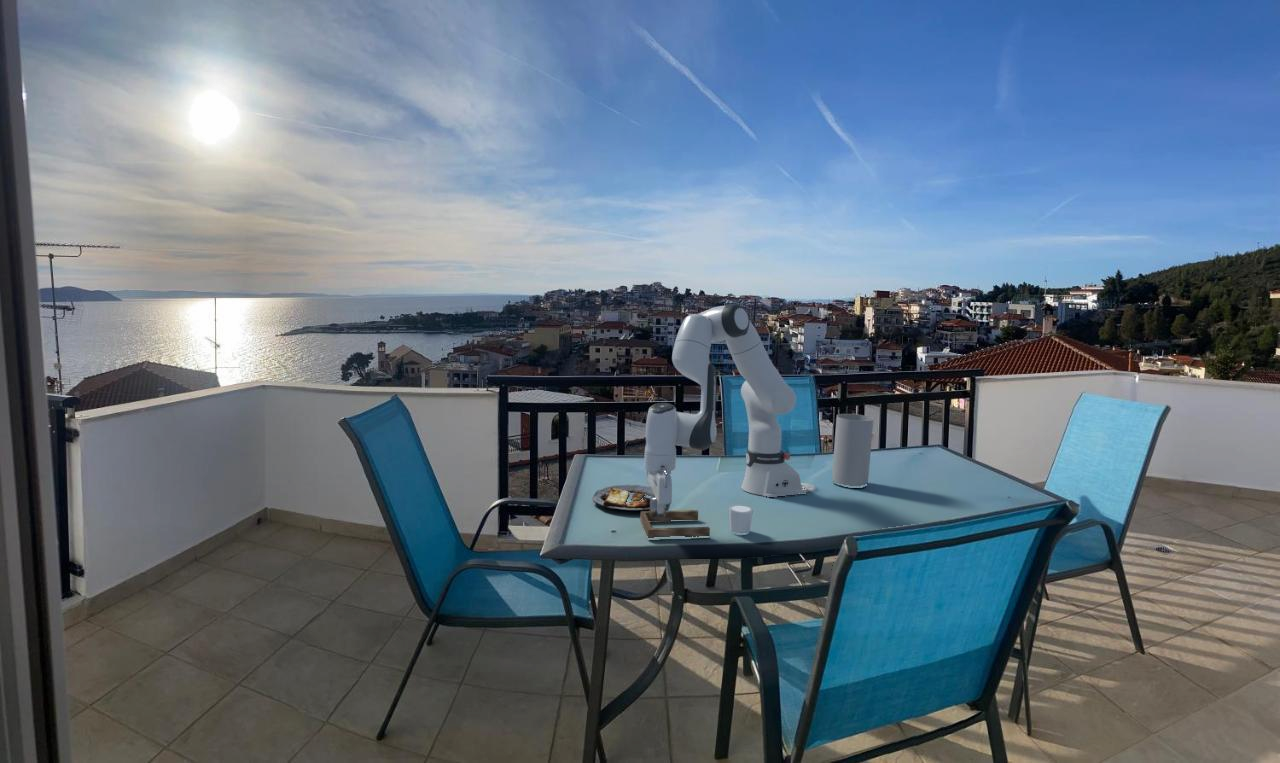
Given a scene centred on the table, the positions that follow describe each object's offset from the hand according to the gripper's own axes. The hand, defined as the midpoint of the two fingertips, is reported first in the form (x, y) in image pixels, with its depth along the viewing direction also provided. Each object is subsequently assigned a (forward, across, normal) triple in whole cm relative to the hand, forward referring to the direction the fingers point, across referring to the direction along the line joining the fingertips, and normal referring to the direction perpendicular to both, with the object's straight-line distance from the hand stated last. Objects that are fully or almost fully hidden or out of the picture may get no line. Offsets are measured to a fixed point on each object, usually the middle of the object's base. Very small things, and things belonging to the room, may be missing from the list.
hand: (658, 508), depth 169 cm
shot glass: (+6, -3, -23) cm, 24 cm away
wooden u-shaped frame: (+6, 0, -5) cm, 8 cm away
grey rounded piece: (+2, 0, 0) cm, 2 cm away
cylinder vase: (+6, +38, -78) cm, 87 cm away
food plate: (+7, +24, +5) cm, 25 cm away
